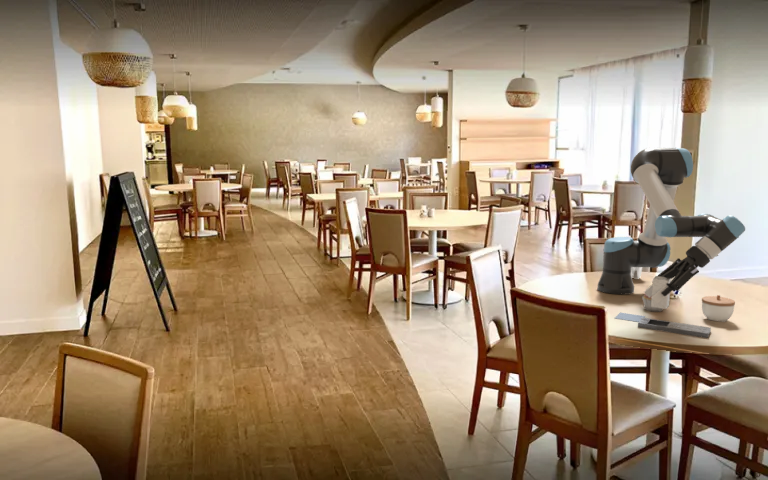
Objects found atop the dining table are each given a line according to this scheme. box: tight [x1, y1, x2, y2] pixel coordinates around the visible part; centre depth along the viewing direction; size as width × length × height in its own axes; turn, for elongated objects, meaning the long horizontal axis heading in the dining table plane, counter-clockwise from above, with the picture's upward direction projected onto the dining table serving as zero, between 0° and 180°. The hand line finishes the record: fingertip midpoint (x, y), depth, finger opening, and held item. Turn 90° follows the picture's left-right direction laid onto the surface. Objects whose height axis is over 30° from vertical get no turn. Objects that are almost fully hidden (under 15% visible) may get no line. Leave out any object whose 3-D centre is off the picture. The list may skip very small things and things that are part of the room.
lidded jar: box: [701, 294, 736, 323], centre depth 228 cm, size 11×11×9 cm
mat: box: [614, 312, 646, 323], centre depth 230 cm, size 9×9×1 cm
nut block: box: [651, 275, 672, 310], centre depth 216 cm, size 5×5×10 cm
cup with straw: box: [631, 238, 643, 280], centre depth 296 cm, size 8×9×20 cm
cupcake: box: [641, 292, 663, 313], centre depth 242 cm, size 9×9×10 cm
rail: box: [637, 317, 712, 339], centre depth 216 cm, size 22×8×2 cm, turn 57°
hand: (650, 297), depth 217 cm, fingers closed on nut block, 7 cm apart
